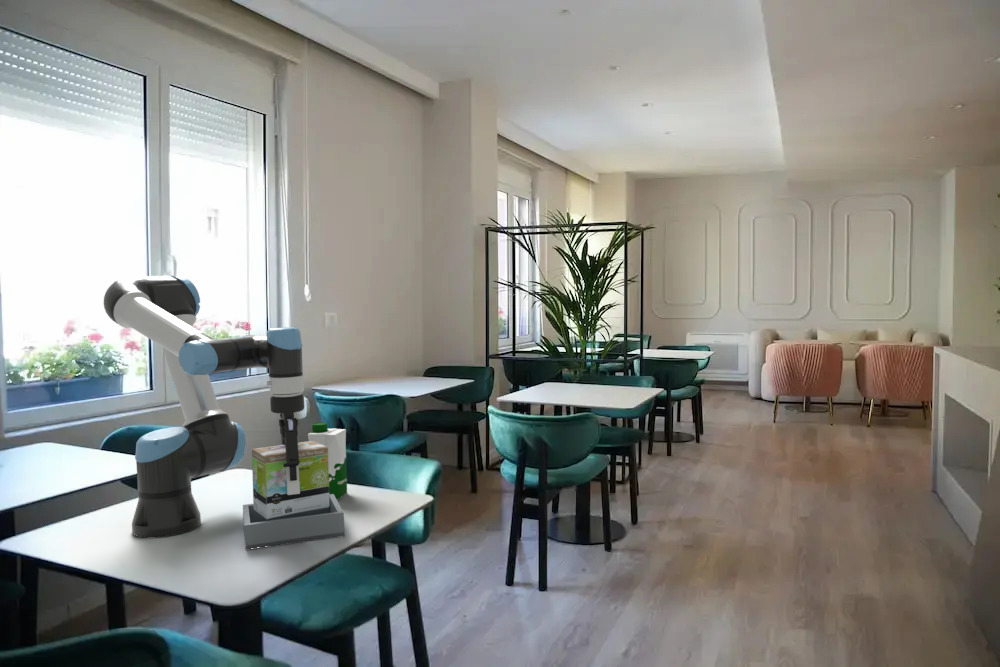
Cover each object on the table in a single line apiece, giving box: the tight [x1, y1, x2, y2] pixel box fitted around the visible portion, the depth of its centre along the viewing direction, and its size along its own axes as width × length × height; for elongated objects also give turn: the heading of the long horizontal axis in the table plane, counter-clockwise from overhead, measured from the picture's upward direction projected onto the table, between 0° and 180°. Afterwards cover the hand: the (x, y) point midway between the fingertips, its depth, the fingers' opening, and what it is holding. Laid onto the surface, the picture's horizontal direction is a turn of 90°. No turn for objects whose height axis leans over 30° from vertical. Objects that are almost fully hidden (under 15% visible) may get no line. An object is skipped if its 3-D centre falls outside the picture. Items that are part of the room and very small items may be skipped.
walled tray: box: [242, 494, 345, 550], centre depth 173 cm, size 16×21×6 cm
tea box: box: [251, 440, 329, 520], centre depth 172 cm, size 15×10×15 cm, turn 126°
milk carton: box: [307, 421, 348, 500], centre depth 201 cm, size 9×9×20 cm
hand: (291, 487), depth 172 cm, fingers closed on tea box, 11 cm apart
